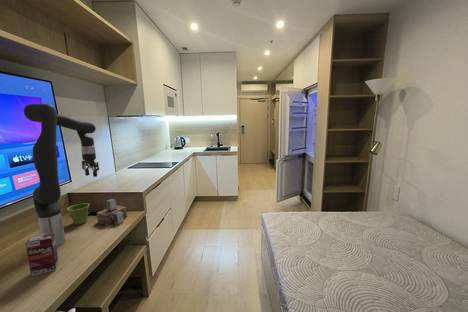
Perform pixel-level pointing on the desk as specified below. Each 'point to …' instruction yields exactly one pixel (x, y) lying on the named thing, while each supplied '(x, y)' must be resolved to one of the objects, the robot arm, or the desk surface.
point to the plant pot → (79, 213)
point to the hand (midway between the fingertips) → (91, 176)
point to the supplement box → (42, 254)
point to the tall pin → (111, 206)
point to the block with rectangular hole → (109, 215)
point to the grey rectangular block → (118, 217)
